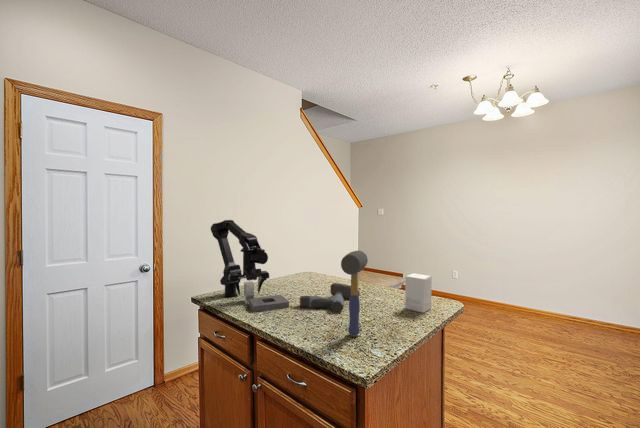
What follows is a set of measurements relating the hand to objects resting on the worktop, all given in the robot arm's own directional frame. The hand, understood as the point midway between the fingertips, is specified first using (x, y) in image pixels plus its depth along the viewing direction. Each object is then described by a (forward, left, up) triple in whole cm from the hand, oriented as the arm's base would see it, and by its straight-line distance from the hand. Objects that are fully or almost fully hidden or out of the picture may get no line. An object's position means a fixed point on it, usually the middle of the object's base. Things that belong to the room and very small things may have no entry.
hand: (248, 293), depth 140 cm
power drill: (+19, +31, -4) cm, 36 cm away
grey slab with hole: (+10, +7, -4) cm, 13 cm away
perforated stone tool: (+13, +46, -4) cm, 48 cm away
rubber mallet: (+53, +27, -4) cm, 60 cm away
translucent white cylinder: (0, 0, -4) cm, 4 cm away
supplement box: (+40, +69, -4) cm, 80 cm away
